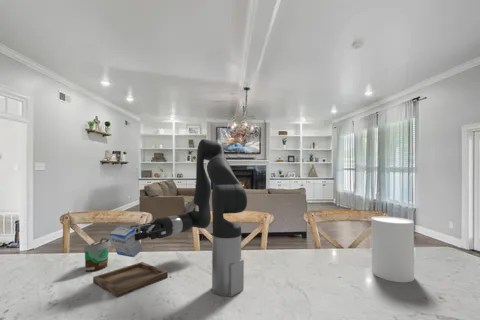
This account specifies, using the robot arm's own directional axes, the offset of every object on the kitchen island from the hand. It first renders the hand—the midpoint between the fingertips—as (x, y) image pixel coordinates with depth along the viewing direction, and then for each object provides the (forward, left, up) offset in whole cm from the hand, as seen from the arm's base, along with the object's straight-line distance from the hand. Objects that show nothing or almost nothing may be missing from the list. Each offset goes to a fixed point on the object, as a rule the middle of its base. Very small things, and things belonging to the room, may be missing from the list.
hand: (128, 235), depth 90 cm
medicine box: (0, -1, -6) cm, 6 cm away
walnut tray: (0, -1, -15) cm, 16 cm away
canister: (-70, -63, -16) cm, 96 cm away
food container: (+20, 0, -16) cm, 25 cm away
